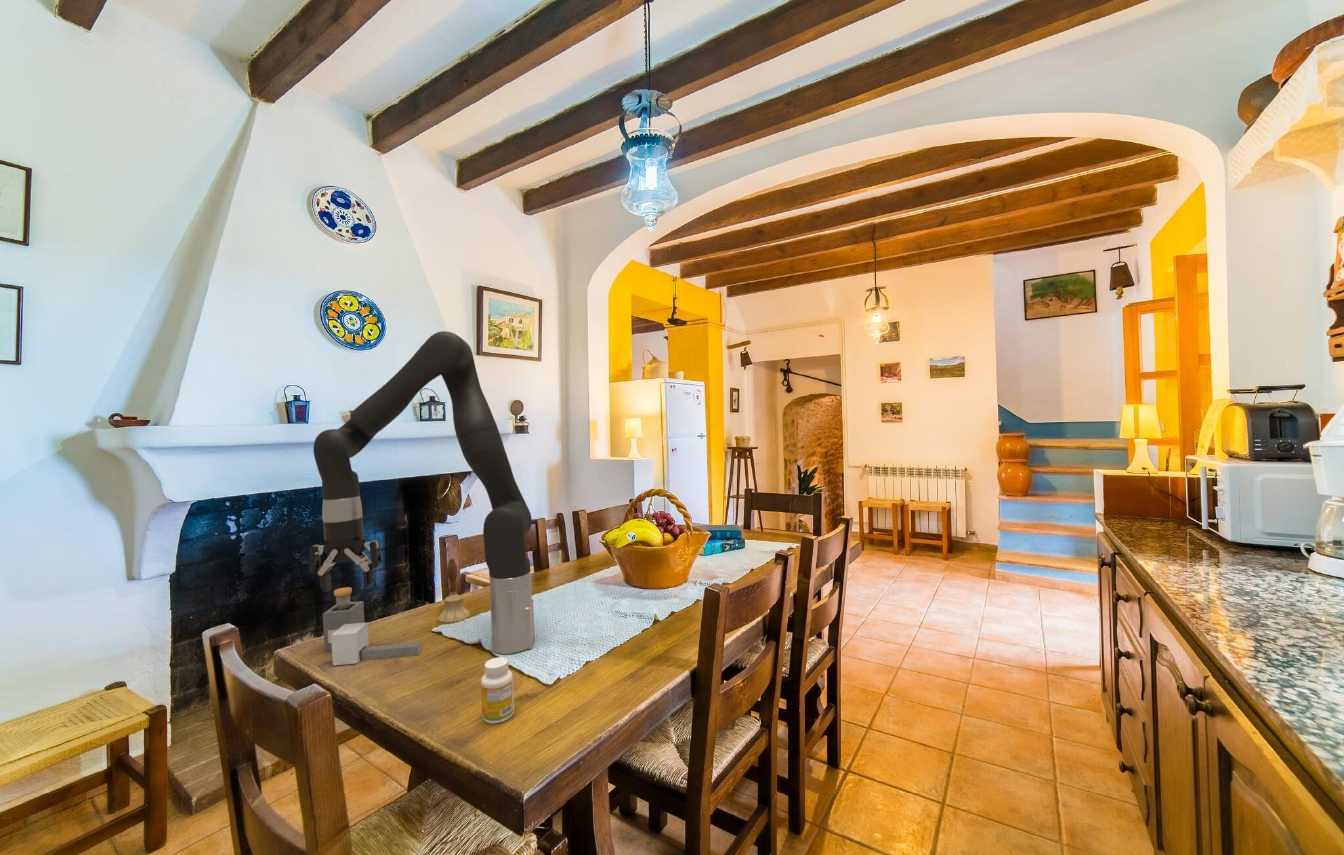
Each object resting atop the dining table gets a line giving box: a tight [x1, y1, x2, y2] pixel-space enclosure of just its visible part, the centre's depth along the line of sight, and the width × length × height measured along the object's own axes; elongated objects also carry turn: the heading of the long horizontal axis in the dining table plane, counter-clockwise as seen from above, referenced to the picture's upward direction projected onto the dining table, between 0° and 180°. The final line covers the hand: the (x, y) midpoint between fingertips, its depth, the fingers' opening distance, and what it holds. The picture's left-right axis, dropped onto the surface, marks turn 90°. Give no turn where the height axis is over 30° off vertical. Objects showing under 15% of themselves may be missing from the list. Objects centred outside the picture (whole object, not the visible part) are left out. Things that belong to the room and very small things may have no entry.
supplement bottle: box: [480, 656, 515, 724], centre depth 93 cm, size 5×5×10 cm
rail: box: [359, 641, 423, 661], centre depth 118 cm, size 18×2×2 cm, turn 98°
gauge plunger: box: [333, 586, 353, 611], centre depth 125 cm, size 4×4×5 cm
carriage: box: [331, 621, 370, 667], centre depth 117 cm, size 5×6×7 cm
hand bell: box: [437, 558, 471, 624], centre depth 140 cm, size 8×8×16 cm
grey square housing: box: [322, 600, 366, 653], centre depth 125 cm, size 6×7×9 cm
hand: (347, 588), depth 117 cm, fingers open, 8 cm apart
